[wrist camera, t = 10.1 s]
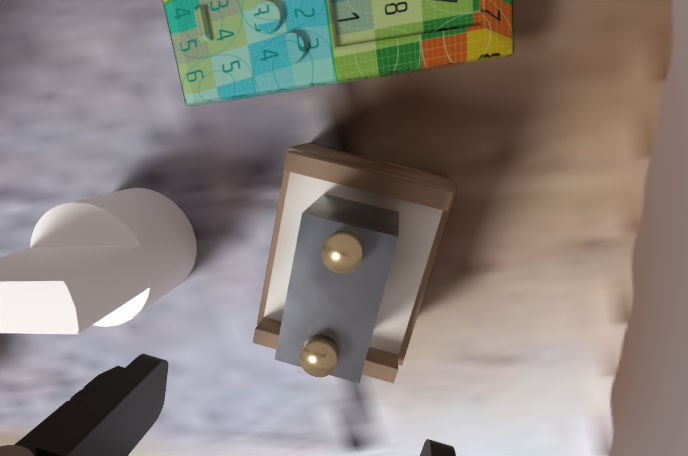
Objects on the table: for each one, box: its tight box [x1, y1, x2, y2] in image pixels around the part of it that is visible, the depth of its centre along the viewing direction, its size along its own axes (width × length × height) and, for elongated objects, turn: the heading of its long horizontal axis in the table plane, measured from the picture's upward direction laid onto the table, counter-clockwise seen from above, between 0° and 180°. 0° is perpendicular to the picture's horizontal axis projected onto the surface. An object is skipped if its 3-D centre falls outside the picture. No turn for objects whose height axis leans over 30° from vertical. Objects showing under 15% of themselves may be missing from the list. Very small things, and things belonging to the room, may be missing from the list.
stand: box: [253, 143, 457, 383], centre depth 25 cm, size 10×12×8 cm
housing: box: [275, 194, 399, 383], centre depth 20 cm, size 8×4×6 cm, turn 168°
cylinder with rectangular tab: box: [0, 188, 197, 334], centre depth 26 cm, size 9×9×12 cm
